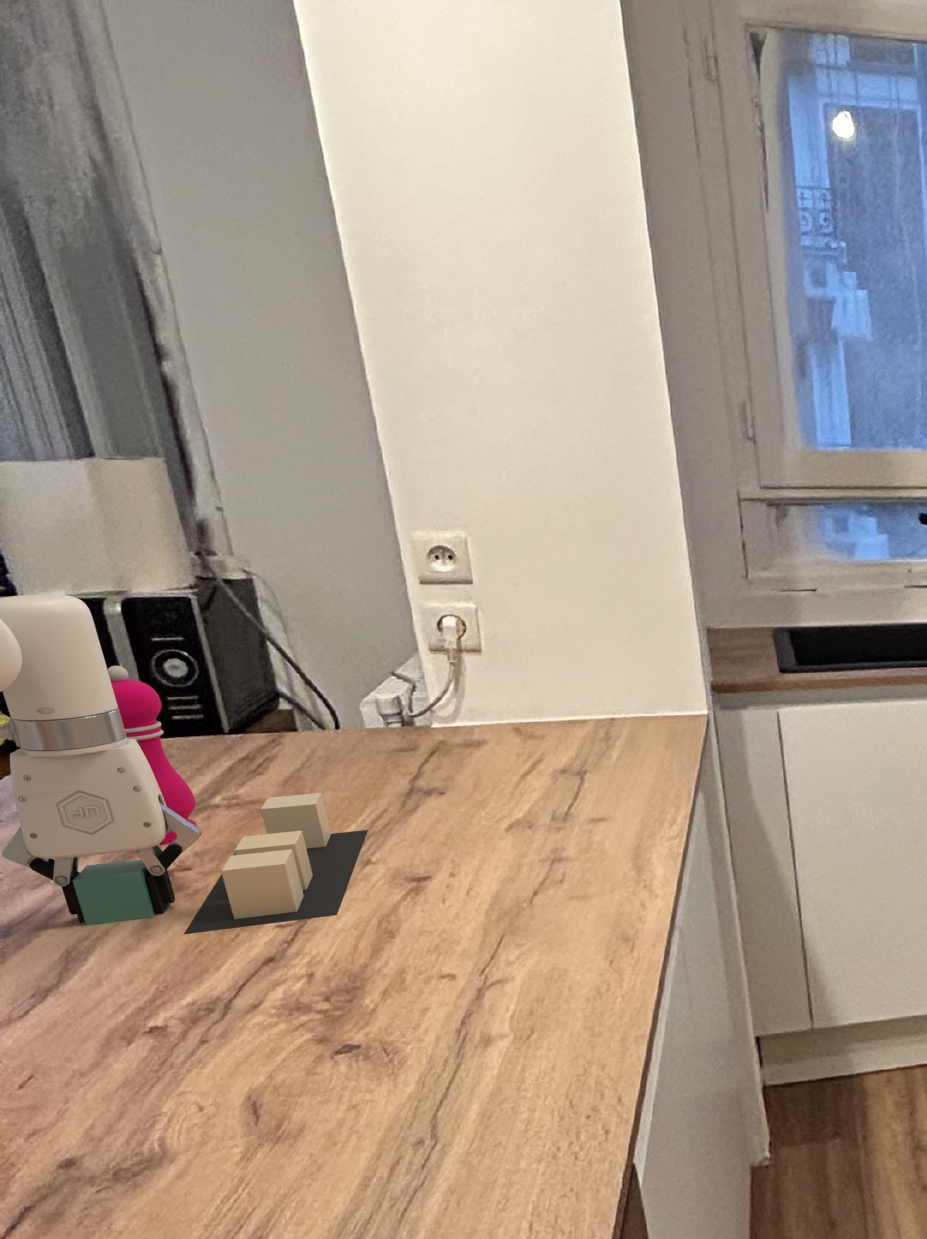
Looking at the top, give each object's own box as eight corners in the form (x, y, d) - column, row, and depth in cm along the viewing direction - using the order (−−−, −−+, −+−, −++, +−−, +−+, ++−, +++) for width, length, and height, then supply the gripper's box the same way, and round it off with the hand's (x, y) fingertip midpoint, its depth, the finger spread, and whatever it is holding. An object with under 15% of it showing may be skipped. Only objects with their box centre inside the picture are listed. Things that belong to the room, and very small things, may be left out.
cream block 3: (234, 919, 130) (220, 870, 128) (243, 903, 134) (230, 855, 133) (297, 911, 132) (284, 863, 131) (304, 896, 137) (292, 849, 135)
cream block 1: (271, 852, 149) (260, 808, 147) (278, 840, 153) (267, 797, 152) (325, 846, 151) (315, 803, 150) (331, 834, 156) (321, 792, 154)
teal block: (87, 930, 128) (71, 880, 127) (101, 913, 132) (86, 865, 131) (153, 922, 131) (139, 873, 129) (165, 905, 135) (151, 858, 133)
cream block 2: (246, 897, 136) (234, 850, 134) (254, 882, 140) (242, 836, 138) (306, 890, 138) (295, 843, 137) (313, 875, 142) (301, 830, 141)
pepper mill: (166, 830, 158) (117, 658, 151) (221, 833, 157) (174, 661, 150) (106, 849, 151) (52, 670, 144) (164, 852, 150) (112, 673, 143)
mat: (184, 938, 127) (183, 933, 127) (242, 847, 152) (241, 842, 152) (338, 919, 132) (336, 914, 132) (368, 833, 158) (367, 829, 158)
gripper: (-66, 749, 118) (-1, 942, 125) (177, 732, 126) (227, 914, 132) (-37, 732, 124) (24, 916, 131) (194, 716, 132) (241, 891, 138)
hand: (126, 913), depth 131 cm, fingers closed on teal block, 5 cm apart
